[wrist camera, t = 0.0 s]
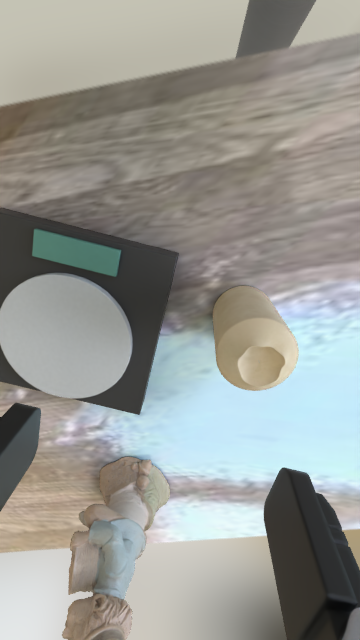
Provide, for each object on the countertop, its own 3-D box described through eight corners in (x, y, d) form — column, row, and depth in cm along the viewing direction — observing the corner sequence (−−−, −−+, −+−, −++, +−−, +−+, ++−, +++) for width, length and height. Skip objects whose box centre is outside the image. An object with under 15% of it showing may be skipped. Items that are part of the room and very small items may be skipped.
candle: (205, 294, 29) (206, 339, 20) (265, 277, 28) (296, 316, 19) (220, 346, 31) (229, 410, 22) (277, 332, 30) (312, 392, 21)
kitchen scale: (-1, 207, 28) (-26, 208, 25) (178, 252, 28) (176, 259, 25) (-6, 364, 33) (-26, 381, 30) (143, 400, 34) (138, 420, 31)
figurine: (174, 455, 36) (144, 729, 17) (168, 508, 39) (137, 791, 20) (96, 445, 36) (-15, 706, 18) (96, 499, 39) (1, 770, 21)
